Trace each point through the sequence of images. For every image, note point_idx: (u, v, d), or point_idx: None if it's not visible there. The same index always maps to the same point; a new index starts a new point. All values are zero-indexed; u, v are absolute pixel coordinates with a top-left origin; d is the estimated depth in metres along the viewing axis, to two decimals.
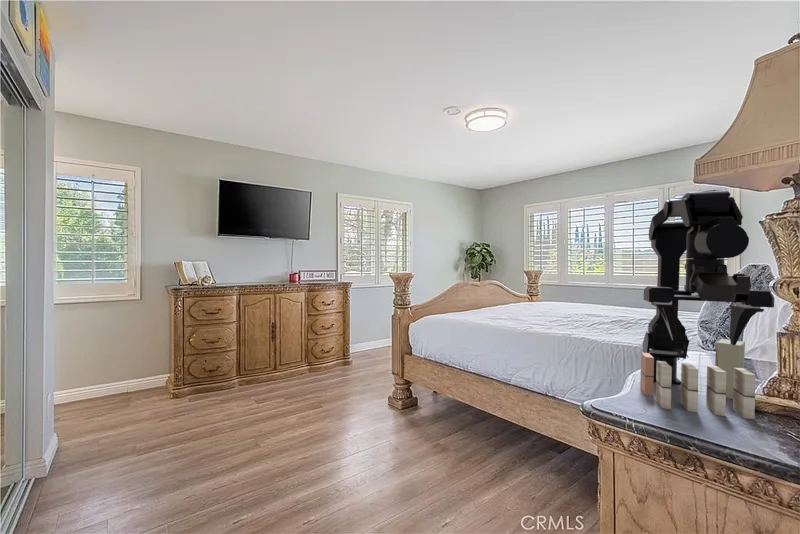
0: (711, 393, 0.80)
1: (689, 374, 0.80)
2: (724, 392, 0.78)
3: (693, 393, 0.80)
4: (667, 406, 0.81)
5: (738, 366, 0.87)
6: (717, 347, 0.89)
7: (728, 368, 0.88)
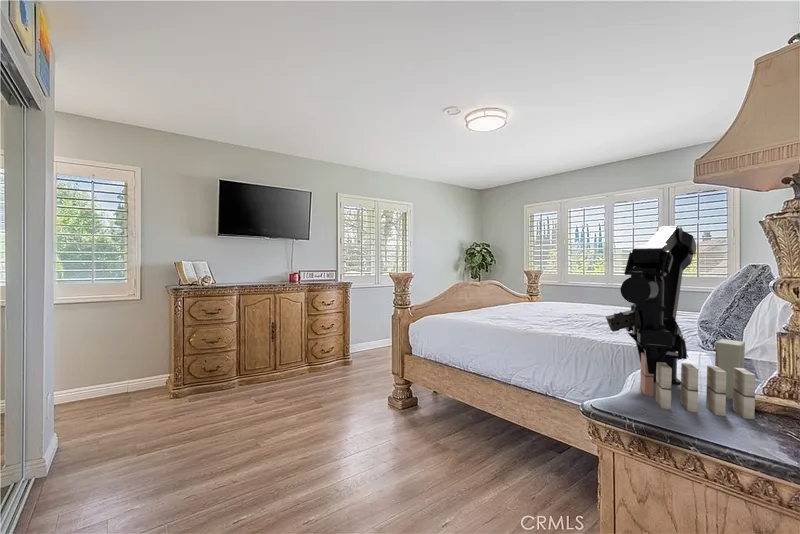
0: (711, 393, 0.80)
1: (689, 374, 0.80)
2: (724, 392, 0.78)
3: (693, 393, 0.80)
4: (667, 407, 0.81)
5: (738, 366, 0.87)
6: (717, 347, 0.89)
7: (728, 368, 0.88)
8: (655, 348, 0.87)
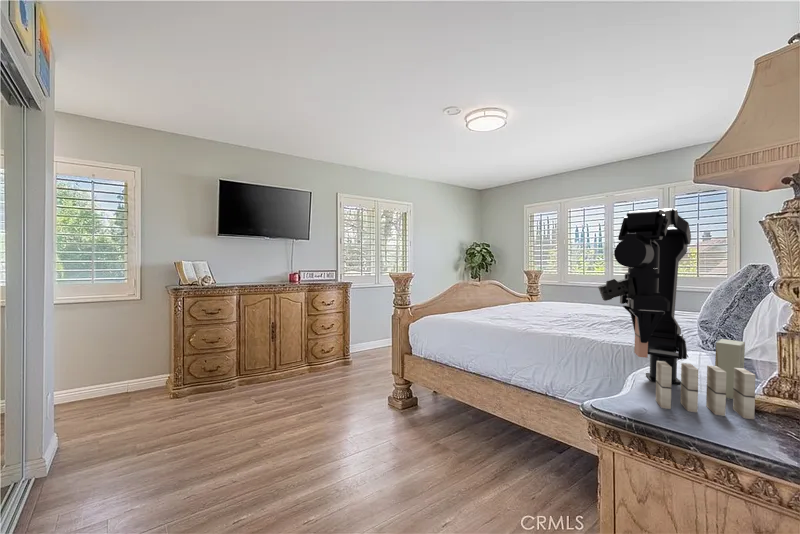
0: (711, 393, 0.80)
1: (689, 374, 0.80)
2: (724, 392, 0.78)
3: (693, 393, 0.80)
4: (667, 406, 0.81)
5: (738, 366, 0.87)
6: (717, 347, 0.89)
7: (728, 368, 0.88)
8: (648, 315, 0.83)
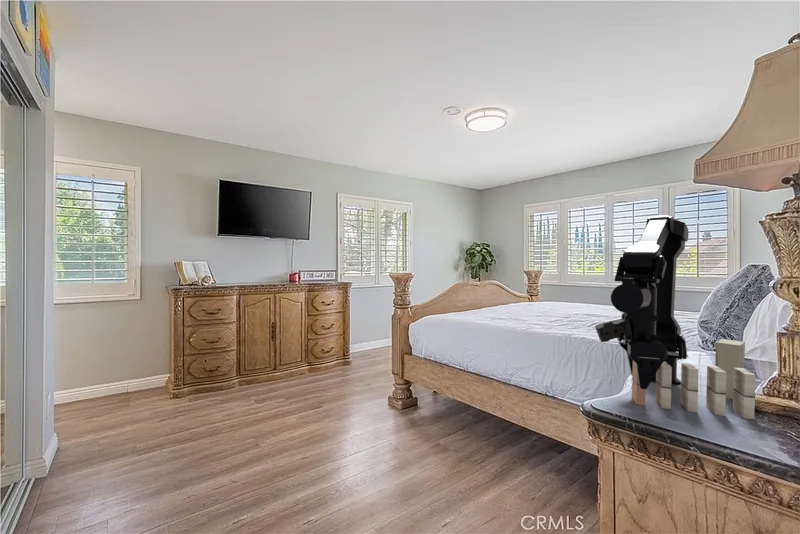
0: (711, 393, 0.80)
1: (689, 374, 0.80)
2: (724, 392, 0.78)
3: (693, 393, 0.80)
4: (667, 406, 0.81)
5: (738, 366, 0.87)
6: (717, 347, 0.89)
7: (728, 368, 0.88)
8: (647, 361, 0.80)
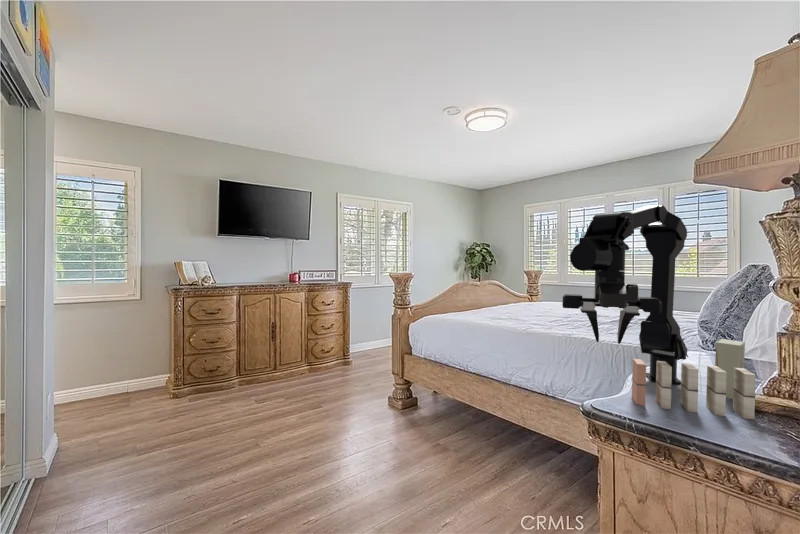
0: (711, 393, 0.80)
1: (689, 374, 0.80)
2: (724, 392, 0.78)
3: (693, 393, 0.80)
4: (667, 406, 0.81)
5: (738, 366, 0.87)
6: (717, 347, 0.89)
7: (728, 368, 0.88)
8: None
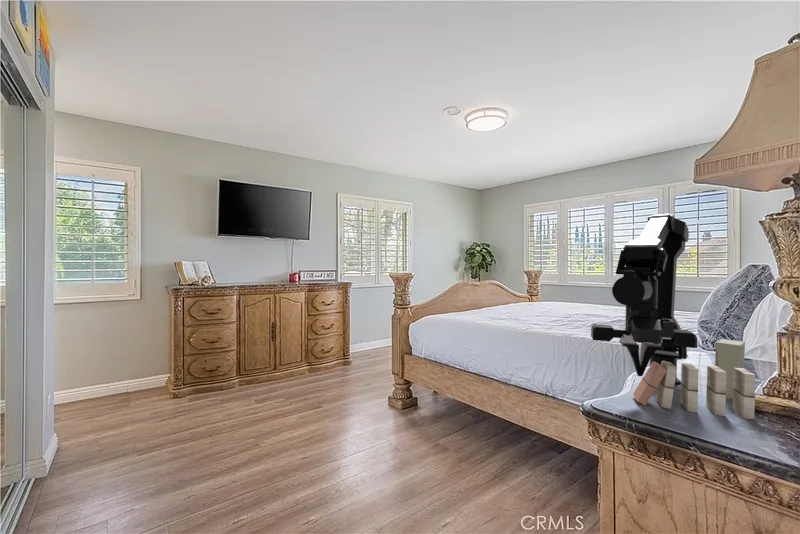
0: (711, 393, 0.80)
1: (689, 374, 0.80)
2: (724, 392, 0.78)
3: (693, 393, 0.80)
4: (667, 406, 0.81)
5: (738, 366, 0.87)
6: (717, 347, 0.89)
7: (728, 368, 0.88)
8: None
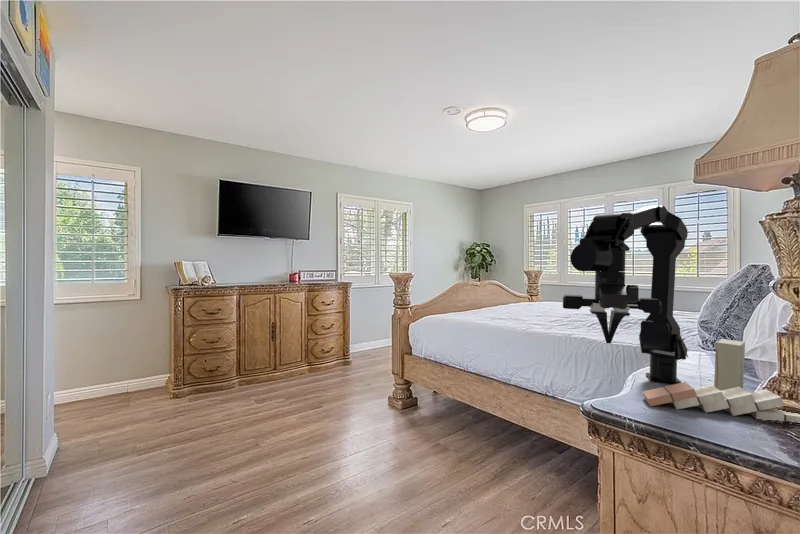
0: None
1: (745, 396, 0.77)
2: (759, 409, 0.76)
3: (725, 404, 0.78)
4: (678, 406, 0.81)
5: (738, 366, 0.87)
6: (717, 347, 0.89)
7: (728, 368, 0.88)
8: None
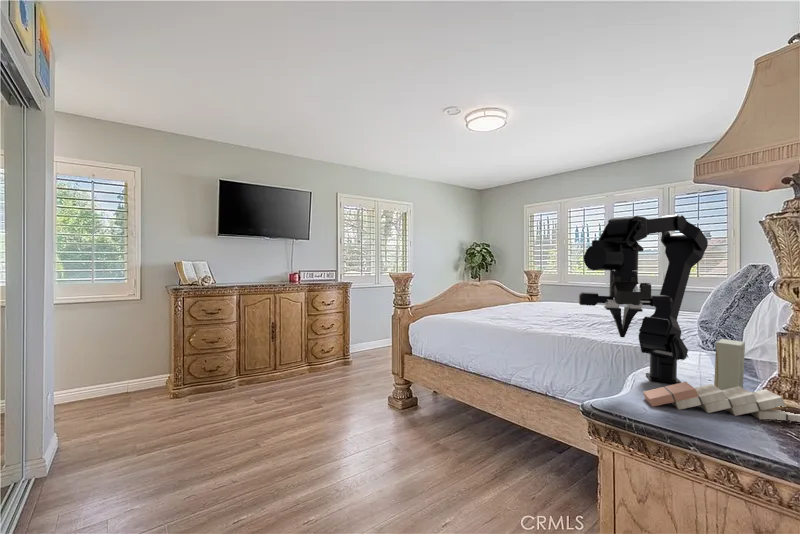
0: None
1: (747, 395, 0.77)
2: (761, 409, 0.77)
3: (727, 404, 0.78)
4: (680, 406, 0.81)
5: (738, 366, 0.87)
6: (717, 347, 0.89)
7: (728, 368, 0.88)
8: None
